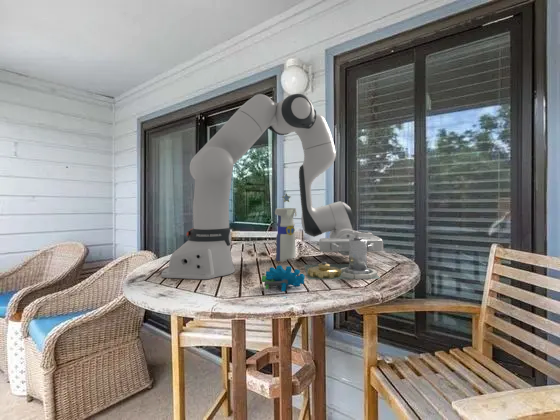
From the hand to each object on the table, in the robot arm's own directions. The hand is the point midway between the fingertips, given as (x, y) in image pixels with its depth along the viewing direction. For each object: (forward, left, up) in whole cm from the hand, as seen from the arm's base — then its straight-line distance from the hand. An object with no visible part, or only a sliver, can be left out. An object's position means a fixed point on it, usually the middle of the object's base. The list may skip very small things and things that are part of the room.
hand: (355, 248), depth 99 cm
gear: (-22, -17, -8) cm, 29 cm away
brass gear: (-10, -4, -7) cm, 13 cm away
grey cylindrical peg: (0, -4, -7) cm, 8 cm away
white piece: (-20, +25, -8) cm, 33 cm away
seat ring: (0, -4, -7) cm, 8 cm away
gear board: (-5, +1, -8) cm, 9 cm away
